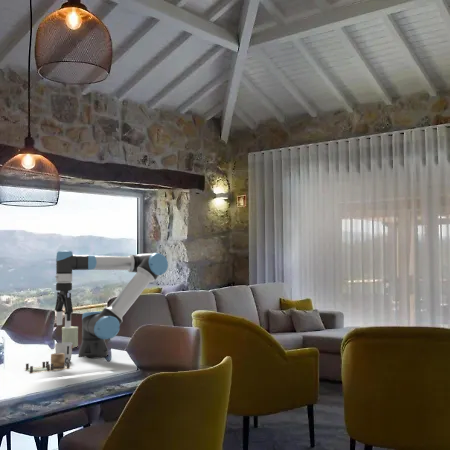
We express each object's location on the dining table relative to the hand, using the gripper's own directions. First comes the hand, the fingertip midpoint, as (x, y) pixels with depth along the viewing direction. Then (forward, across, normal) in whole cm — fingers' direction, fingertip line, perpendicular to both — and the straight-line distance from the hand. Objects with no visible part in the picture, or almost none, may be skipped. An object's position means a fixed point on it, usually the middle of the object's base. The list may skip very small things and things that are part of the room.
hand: (63, 326), depth 271 cm
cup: (+18, 0, 0) cm, 18 cm away
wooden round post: (+17, +12, -6) cm, 22 cm away
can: (+18, -50, +19) cm, 57 cm away
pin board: (+18, +12, -11) cm, 24 cm away
